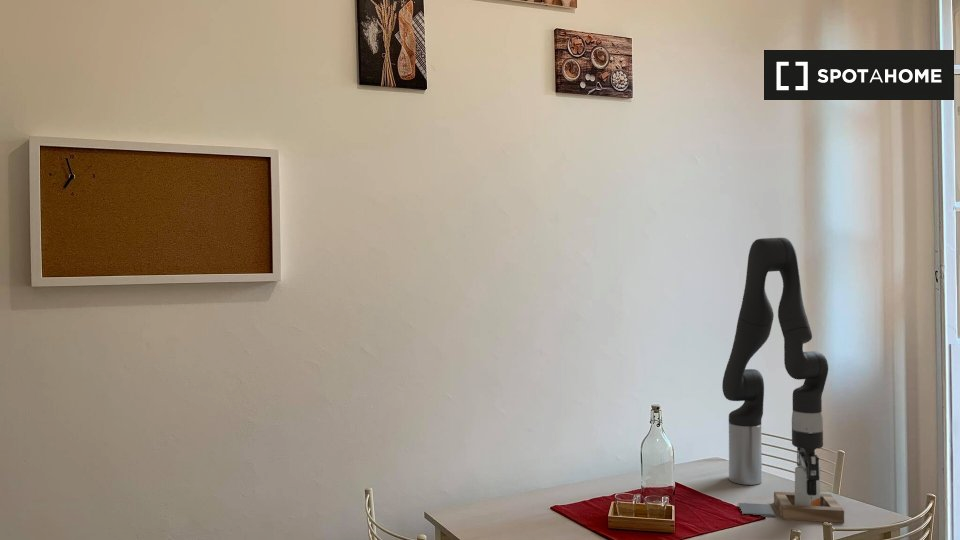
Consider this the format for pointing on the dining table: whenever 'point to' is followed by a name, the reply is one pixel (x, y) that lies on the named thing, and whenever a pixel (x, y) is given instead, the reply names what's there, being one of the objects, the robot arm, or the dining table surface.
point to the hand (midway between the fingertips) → (807, 489)
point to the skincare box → (805, 489)
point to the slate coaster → (756, 509)
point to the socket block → (808, 508)
